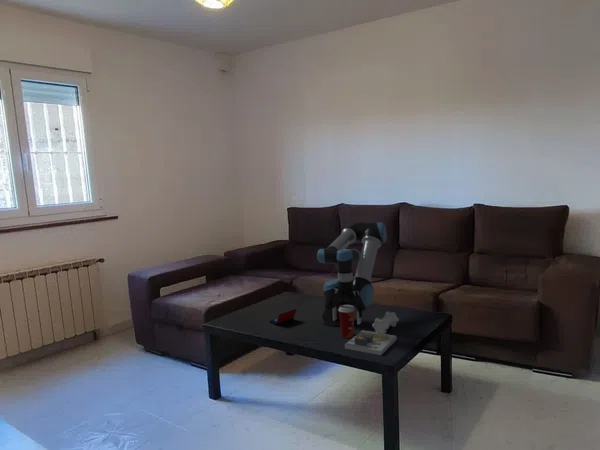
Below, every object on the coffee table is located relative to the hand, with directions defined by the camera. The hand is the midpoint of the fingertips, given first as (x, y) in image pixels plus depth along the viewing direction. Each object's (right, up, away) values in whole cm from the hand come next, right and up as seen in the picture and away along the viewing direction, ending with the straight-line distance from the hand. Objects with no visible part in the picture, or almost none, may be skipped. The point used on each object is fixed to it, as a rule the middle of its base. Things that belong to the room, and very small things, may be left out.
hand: (346, 321), depth 229 cm
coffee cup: (0, -8, +1) cm, 8 cm away
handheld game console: (-33, -6, +26) cm, 42 cm away
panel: (+11, -8, -11) cm, 17 cm away
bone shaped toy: (+21, -6, +7) cm, 23 cm away
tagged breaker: (+5, -7, -17) cm, 19 cm away
